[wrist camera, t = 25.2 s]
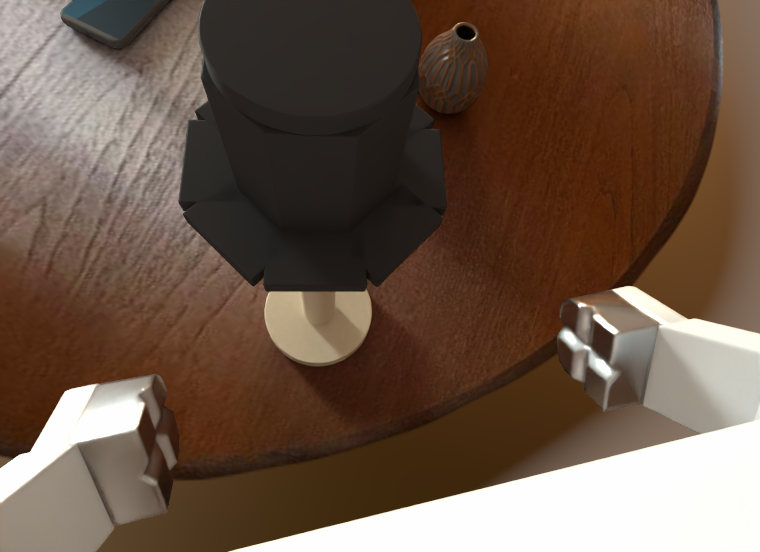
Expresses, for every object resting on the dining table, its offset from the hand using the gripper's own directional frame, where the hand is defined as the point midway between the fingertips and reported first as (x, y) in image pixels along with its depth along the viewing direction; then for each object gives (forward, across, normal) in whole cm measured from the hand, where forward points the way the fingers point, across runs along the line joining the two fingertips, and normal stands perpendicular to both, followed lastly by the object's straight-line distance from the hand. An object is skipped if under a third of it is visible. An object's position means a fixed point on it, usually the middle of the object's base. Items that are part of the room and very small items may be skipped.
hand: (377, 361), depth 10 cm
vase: (+45, +17, 0) cm, 48 cm away
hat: (+14, 0, +1) cm, 14 cm away
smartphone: (+57, -13, +12) cm, 60 cm away
